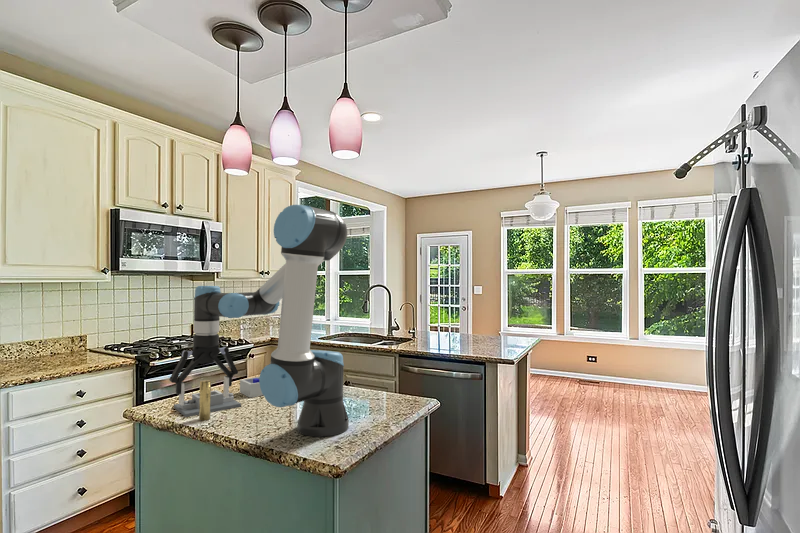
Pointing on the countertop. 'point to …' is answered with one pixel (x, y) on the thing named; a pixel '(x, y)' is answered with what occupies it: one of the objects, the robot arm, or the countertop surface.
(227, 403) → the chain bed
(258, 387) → the tray
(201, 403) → the pin
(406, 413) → the countertop surface
